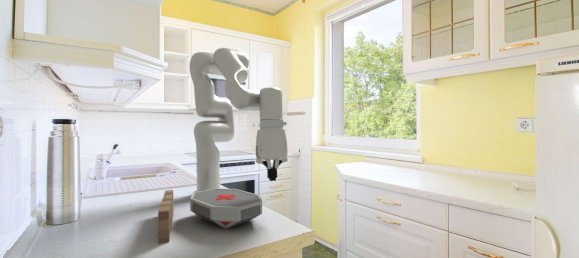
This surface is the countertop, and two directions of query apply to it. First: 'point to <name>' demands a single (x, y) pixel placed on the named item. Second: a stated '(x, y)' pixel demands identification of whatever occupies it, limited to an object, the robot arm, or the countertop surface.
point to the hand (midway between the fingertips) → (272, 180)
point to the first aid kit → (226, 206)
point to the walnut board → (165, 216)
